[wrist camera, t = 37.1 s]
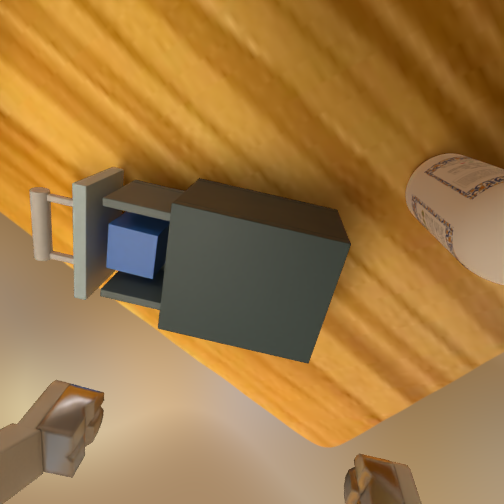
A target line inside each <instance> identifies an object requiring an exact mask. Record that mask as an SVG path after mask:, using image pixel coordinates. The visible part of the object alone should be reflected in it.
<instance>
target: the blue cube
mask: <svg viewBox="0 0 504 504" xmlns="http://www.w3.org/2000/svg"><path fill="white" fill-rule="evenodd" d="M169 223H170V221H166V220H162V219H157V218H153V217H149V216H144V215H140V214H136V213H131V212H127V211H126V212H125V213H123V214H122V215H120V216H119V217H118V218H116V219H115V220H113V221H112V222H111V223H109V226H108V244H107V263H106V268H110V269H114V270H118V271H122V272H126V273H130V274H134V275H138V276H141V277H145V278H149V279H153V278H154V277H155V276H156V274H157V273H158V272H159V270H160V269H161V268H162V266H163V265H164V264H165V260H166V251H167V242H168V232H169Z"/></svg>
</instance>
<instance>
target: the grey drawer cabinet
mask: <svg viewBox="0 0 504 504" xmlns="http://www.w3.org/2000/svg"><path fill="white" fill-rule="evenodd" d="M350 246H351V243H350V241H349V239H348V236H347V233H346V231H345V228H344V226H343V223H342V221H341V218H340V216H339V213H338V210H336V209H331V208H327V207H323V206H318V205H314V204H309V203H305V202H301V201H296V200H292V199H288V198H283V197H279V196H275V195H270V194H266V193H261V192H257V191H253V190H248V189H244V188H240V187H235V186H231V185H227V184H222V183H218V182H213V181H209V180H205V179H200V178H199V179H198V180H197V181H196V182H195V183H194V184H192V185H191V186H190V187H189V188H188V189H187V190H186V191H185V192H184V193H183V194H181V195H180V196H179V197H178V198H177V199H176V200H175V201H174V202H172V205H171V214H170V223H169V232H168V242H167V251H166V260H165V269H164V278H163V287H162V296H161V305H160V314H159V323H158V329H162V330H167V331H171V332H175V333H180V334H184V335H188V336H192V337H197V338H201V339H205V340H210V341H214V342H218V343H222V344H227V345H231V346H235V347H240V348H244V349H248V350H252V351H257V352H261V353H265V354H270V355H274V356H278V357H282V358H287V359H291V360H295V361H300V362H304V363H309V360H310V358H311V355H312V352H313V349H314V346H315V344H316V341H317V338H318V335H319V332H320V330H321V327H322V324H323V321H324V318H325V316H326V313H327V310H328V307H329V304H330V302H331V299H332V296H333V293H334V290H335V288H336V285H337V282H338V279H339V276H340V274H341V271H342V268H343V265H344V262H345V260H346V257H347V254H348V251H349V248H350Z"/></svg>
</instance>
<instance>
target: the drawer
mask: <svg viewBox="0 0 504 504" xmlns="http://www.w3.org/2000/svg"><path fill="white" fill-rule="evenodd" d="M123 180H124V169H120V168H116V167H112V168H109V169H107V170H104V171H102V172H99V173H97V174H94V175H92V176H89V177H87V178H84V179H82V180H80V181H77V182H75V183H73V184H72V189H73V199H72V198H68V197H64V196H59V195H55V194H50V190H49V189H47V188H42V187H35V188H31V189H30V204H31V218H32V233H33V247H34V258H35V259H36V260H39V261H47V260H50V259H55V260H59V261H63V262H68V263H72V264H74V297H75V298H79V299H84V300H86V299H87V298H88V297H89V296H90V295H91V294H92V293H93V292H94V291H95V290H96V289H97V288H98V287H99V286H100V285H101V284H102V283H103V282H104V281H105V280H106V279H107V278H108V277H109V276H110V275H111V274H112V273H113V272H114V271H115V270H114V269H110V268H106V263H107V244H108V226H109V223H111V222H112V221H113V220H115V219H116V218H118V217H119V216H120V215H122V210H123V211H127V212H131V213H136V214H140V215H144V216H149V217H153V218H157V219H162V220H166V221H170V214H171V205H172V202H174V201H175V200H176V199H177V198H178V197H179V196H180V195H181V194H183V193H184V192H185V191H182V190H178V189H173V188H169V187H165V186H160V185H156V184H152V183H147V182H143V181H139V180H134V181H132V182H130V183H129V184H127V185H125V186H123ZM50 202H54V203H59V204H63V205H67V206H72V207H73V252H74V256H72V255H68V254H64V253H59V252H55V251H53V248H52V226H51V203H50ZM164 269H165V264H164V265H163V266H162V268H161V269H160V270H159V272H158V273H157V274H156V276H155V277H154V278H153V279H149V278H145V277H141V276H138V275H134V274H130V273H126V272H122V271H118V272H117V273H116V274H115V275H114V276H113V277H112V278H111V279H110V280H109V281H108V282H107V283H106V284H105V285H104V286H103V287H102V288H101V293H100V296H103V297H106V298H111V299H115V300H119V301H123V302H128V303H132V304H136V305H141V306H145V307H149V308H153V309H158V310H160V305H161V296H162V287H163V278H164Z"/></svg>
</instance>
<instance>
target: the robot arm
mask: <svg viewBox="0 0 504 504" xmlns="http://www.w3.org/2000/svg"><path fill="white" fill-rule="evenodd" d="M103 401H104V393H103V392H100V391H96V390H92V389H89V388H85V387H81V386H77V385H74V384H70V383H66V382H62V381H58V380H55V381H54V382H52V383H51V384H50V385H49V386H48V387H47V389H46V390H45V391H44V392H43V394H42V395H41V396H40V397H39V398H38V400H37V401H36V402H35V403H34V404H33V406H32V407H31V408H30V409H29V410H28V412H27V413H26V414H25V415H24V417H23V418H22V419H21V420H20V421H19V423H18V424H10V425H8V426H6V427H4V428H2V429H0V504H3V503H5V502H6V501H7V500H9V499H10V498H11V497H13V496H14V495H15V494H17V493H18V492H19V491H21V490H22V489H23V488H25V487H26V486H27V485H29V484H30V483H31V482H33V481H34V480H35V479H37V478H38V477H39V476H40V475H42V474H43V472H48V473H53V474H58V475H62V476H67V477H73V476H74V474H75V472H76V470H77V468H78V467H79V465H80V463H81V462H82V460H83V458H84V456H85V446H87V445H89V444H90V443H92V442H93V440H94V438H95V437H96V435H97V433H98V430H99V428H100V425H101V423H102V418H103V409H102V408H101V404H102V403H103ZM354 465H355V467H354V468H351V469H349V470H348V473H347V475H346V477H345V483H344V498H345V503H346V504H421V501H420V498H419V494H418V491H417V488H416V485H415V482H414V479H413V476H412V473H411V470H410V468H409V467H408V466H407V465H405V464H400V463H396V462H391V461H389V460H385V459H381V458H376V457H372V456H367V455H363V454H359V455H357V456H356V458H355V459H354Z"/></svg>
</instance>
